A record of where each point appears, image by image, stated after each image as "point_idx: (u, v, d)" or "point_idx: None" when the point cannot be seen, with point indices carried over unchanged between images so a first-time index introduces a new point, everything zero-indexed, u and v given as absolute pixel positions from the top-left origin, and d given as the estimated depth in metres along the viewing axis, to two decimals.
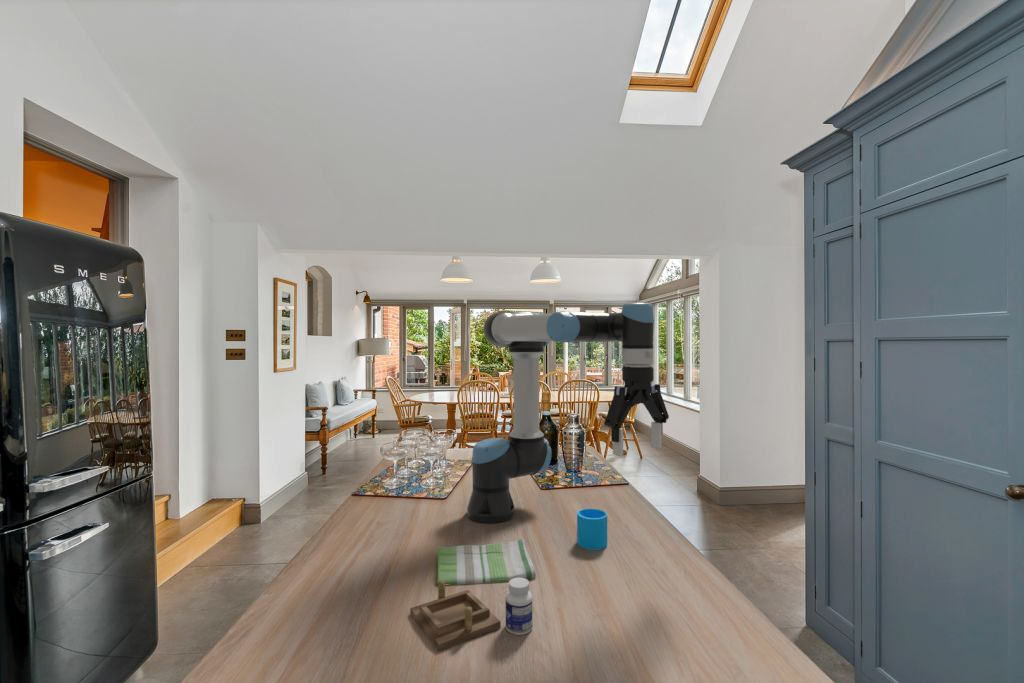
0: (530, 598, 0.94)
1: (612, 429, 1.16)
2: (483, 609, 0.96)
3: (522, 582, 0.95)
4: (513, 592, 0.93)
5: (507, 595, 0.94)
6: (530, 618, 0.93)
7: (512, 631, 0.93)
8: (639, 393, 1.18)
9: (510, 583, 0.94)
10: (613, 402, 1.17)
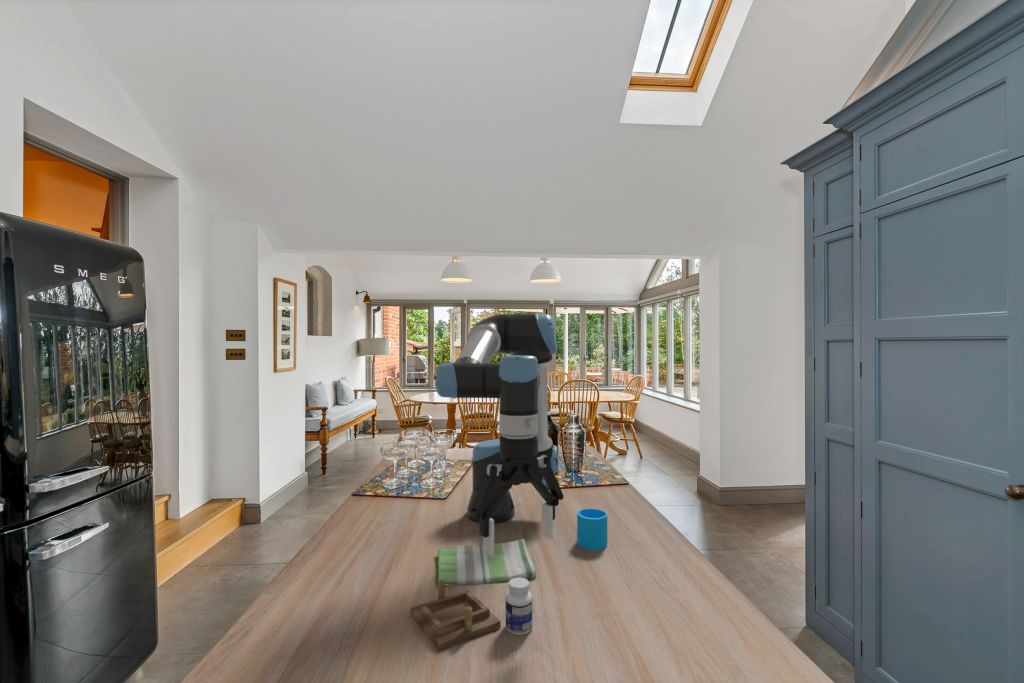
0: (530, 598, 0.94)
1: (480, 520, 0.90)
2: (483, 609, 0.96)
3: (522, 582, 0.95)
4: (513, 592, 0.93)
5: (507, 595, 0.94)
6: (530, 618, 0.93)
7: (512, 631, 0.93)
8: (517, 472, 0.92)
9: (510, 583, 0.94)
10: (482, 485, 0.91)
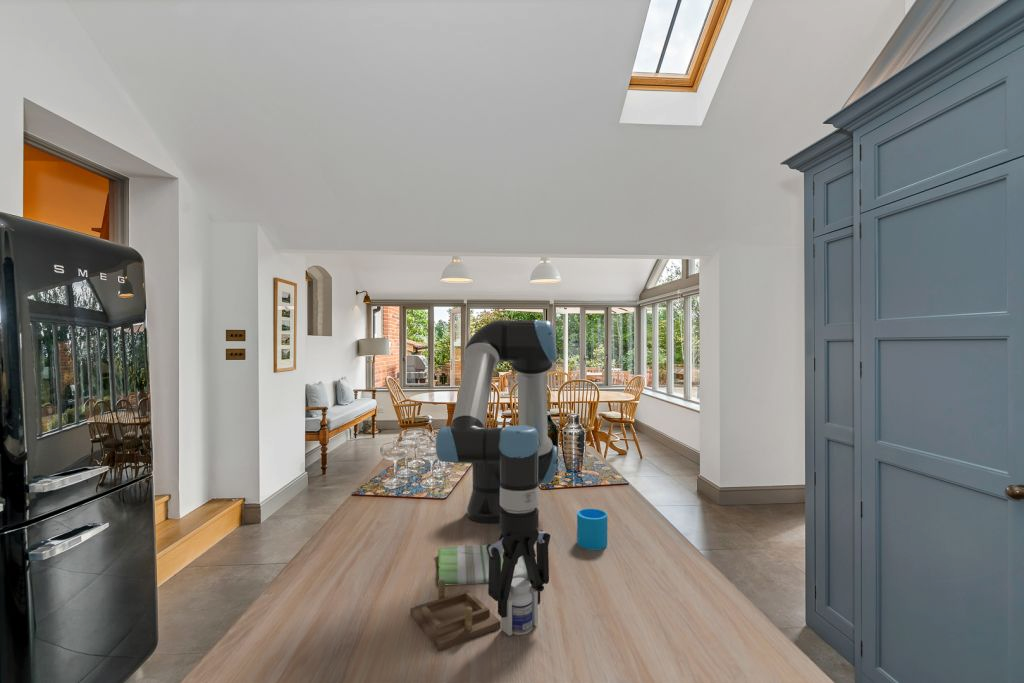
0: (530, 598, 0.94)
1: (498, 600, 0.92)
2: (483, 609, 0.96)
3: (523, 582, 0.95)
4: (513, 592, 0.93)
5: None
6: (530, 618, 0.93)
7: (512, 631, 0.93)
8: (518, 546, 0.92)
9: None
10: (490, 567, 0.92)
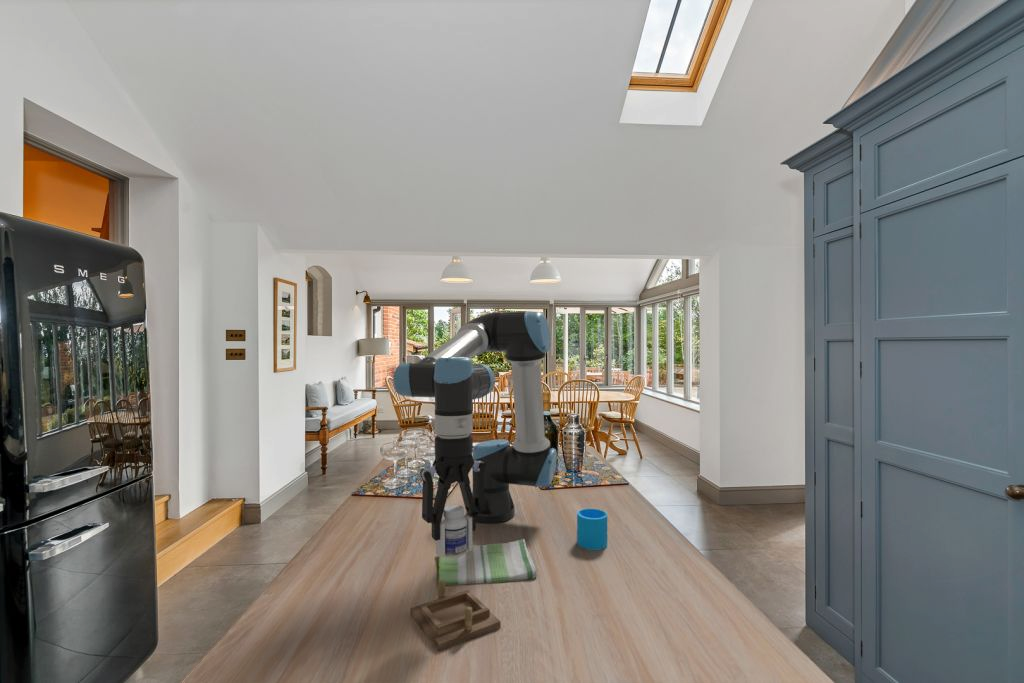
0: (464, 523, 0.96)
1: (432, 524, 0.95)
2: (483, 609, 0.96)
3: (457, 508, 0.97)
4: (447, 516, 0.95)
5: (442, 520, 0.97)
6: (464, 542, 0.96)
7: (445, 554, 0.95)
8: (451, 471, 0.94)
9: (445, 509, 0.96)
10: (423, 491, 0.94)
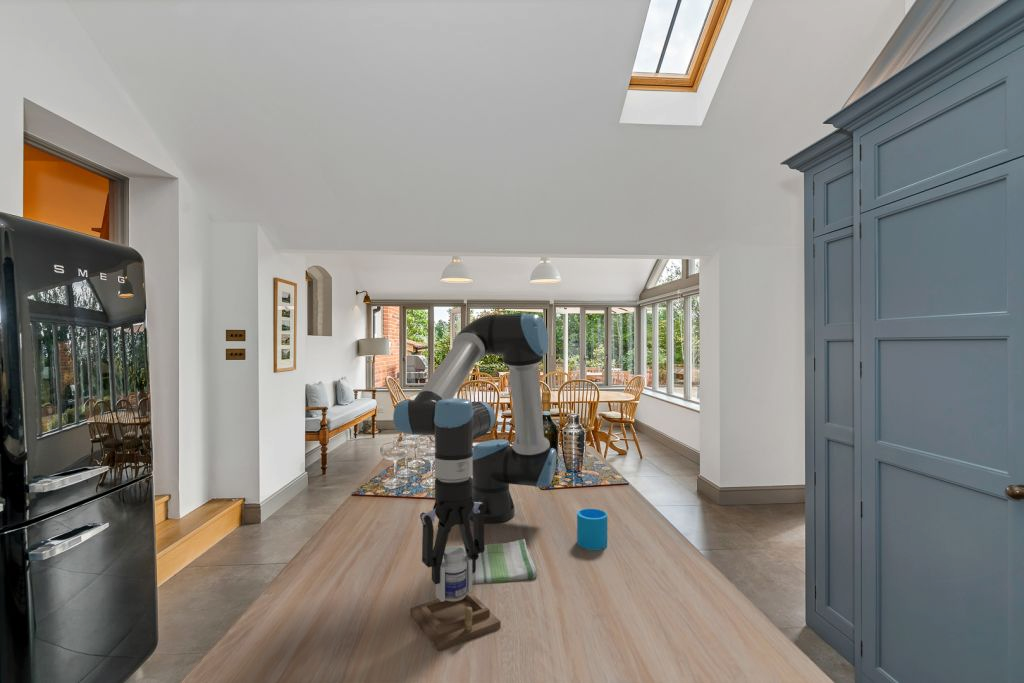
0: (464, 566, 0.96)
1: (432, 567, 0.95)
2: (483, 609, 0.96)
3: (457, 550, 0.97)
4: (447, 559, 0.95)
5: (442, 563, 0.97)
6: (464, 585, 0.96)
7: (445, 597, 0.95)
8: (451, 515, 0.94)
9: (445, 551, 0.97)
10: (423, 534, 0.94)
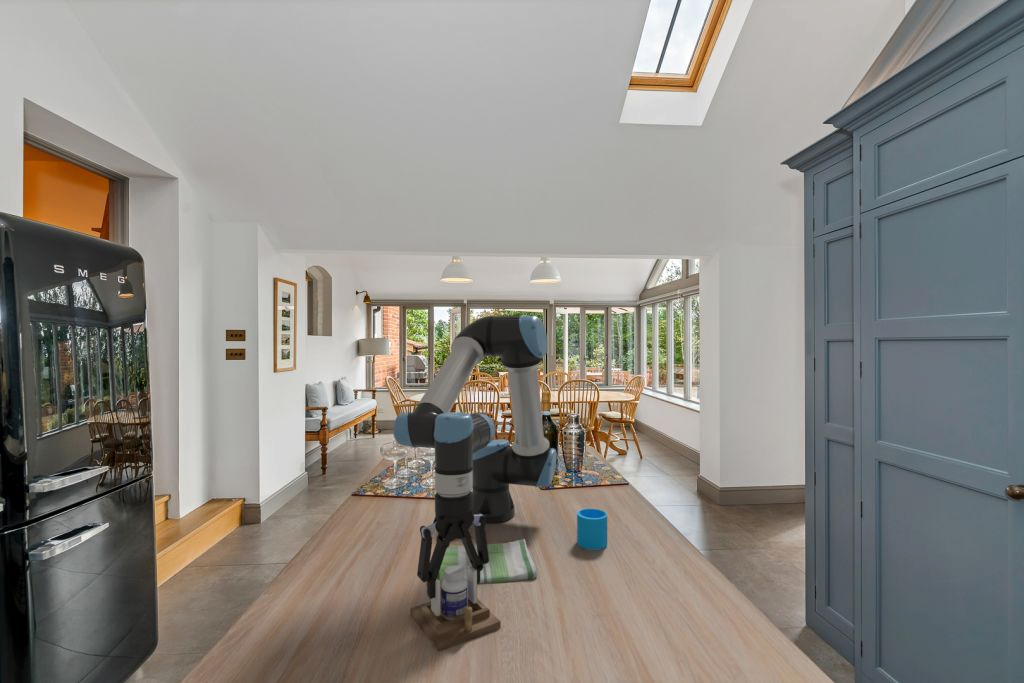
0: (464, 585, 0.96)
1: (427, 581, 0.94)
2: (483, 609, 0.96)
3: (458, 569, 0.97)
4: (448, 578, 0.95)
5: (442, 582, 0.97)
6: (464, 604, 0.96)
7: (446, 617, 0.95)
8: (451, 529, 0.95)
9: (445, 570, 0.97)
10: (421, 548, 0.94)
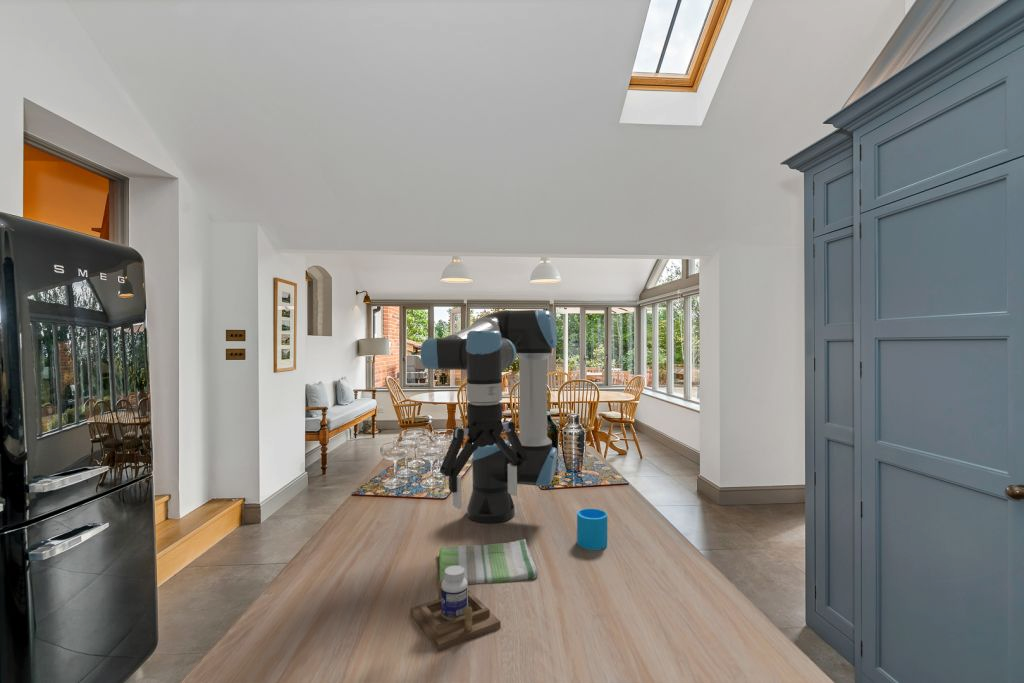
0: (464, 585, 0.96)
1: (449, 477, 1.01)
2: (483, 609, 0.96)
3: (458, 569, 0.97)
4: (448, 579, 0.95)
5: (443, 582, 0.97)
6: (464, 604, 0.96)
7: (446, 617, 0.95)
8: (483, 435, 1.02)
9: (445, 570, 0.97)
10: (451, 446, 1.01)
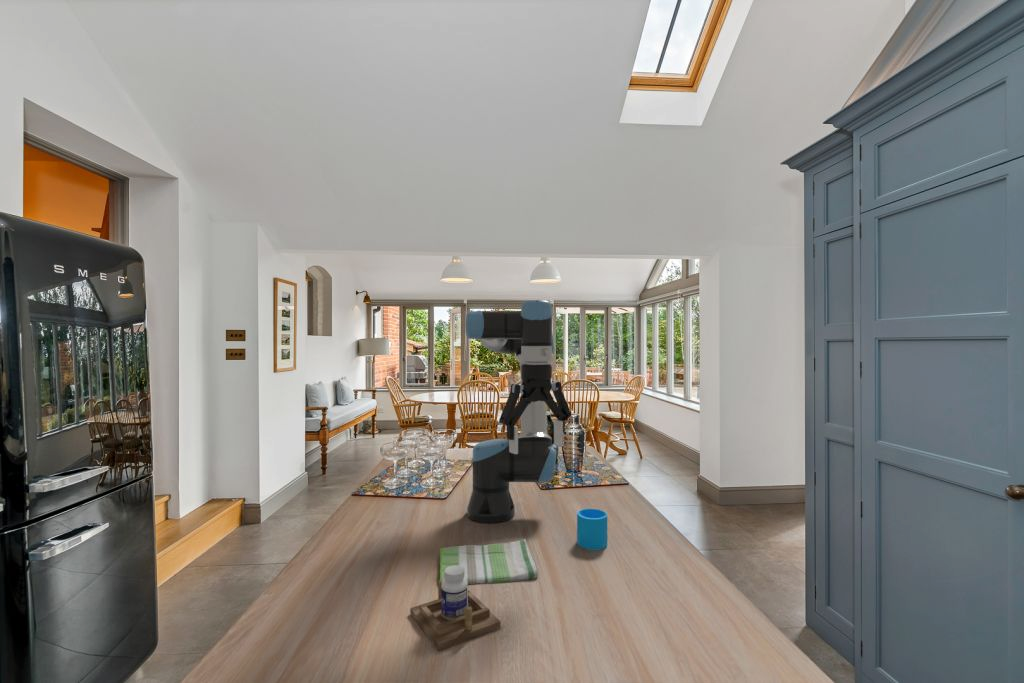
0: (464, 585, 0.96)
1: (507, 427, 1.16)
2: (483, 609, 0.96)
3: (458, 569, 0.97)
4: (448, 579, 0.95)
5: (443, 582, 0.97)
6: (464, 604, 0.96)
7: (446, 617, 0.95)
8: (536, 391, 1.18)
9: (445, 570, 0.97)
10: (508, 400, 1.16)
